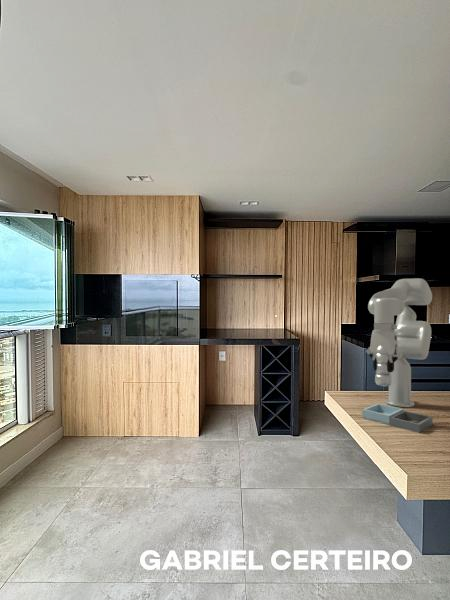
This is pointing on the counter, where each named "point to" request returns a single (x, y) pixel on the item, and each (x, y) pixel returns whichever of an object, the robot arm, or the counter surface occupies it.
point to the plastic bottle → (382, 367)
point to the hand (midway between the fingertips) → (383, 370)
